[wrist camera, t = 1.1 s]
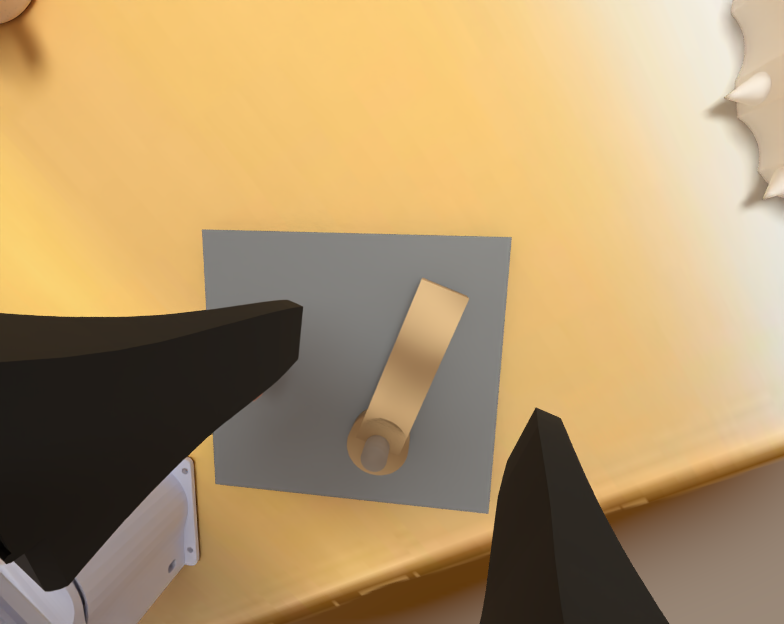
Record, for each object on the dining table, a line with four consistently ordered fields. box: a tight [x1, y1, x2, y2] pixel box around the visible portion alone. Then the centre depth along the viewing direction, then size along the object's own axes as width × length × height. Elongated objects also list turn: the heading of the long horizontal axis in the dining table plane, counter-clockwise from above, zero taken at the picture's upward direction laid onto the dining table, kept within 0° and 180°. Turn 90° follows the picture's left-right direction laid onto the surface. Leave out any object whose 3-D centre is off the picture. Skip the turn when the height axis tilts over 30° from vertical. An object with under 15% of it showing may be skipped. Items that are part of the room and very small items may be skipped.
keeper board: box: [202, 230, 512, 514], centre depth 23 cm, size 19×20×5 cm
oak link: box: [347, 278, 469, 475], centre depth 22 cm, size 13×4×3 cm, turn 158°
